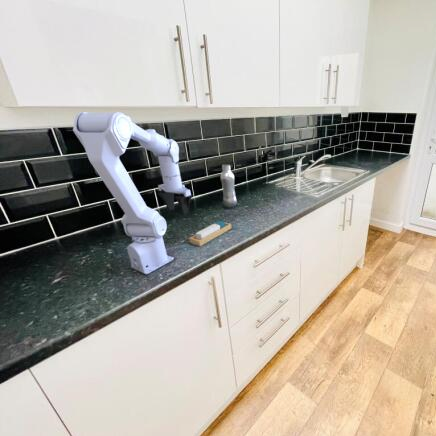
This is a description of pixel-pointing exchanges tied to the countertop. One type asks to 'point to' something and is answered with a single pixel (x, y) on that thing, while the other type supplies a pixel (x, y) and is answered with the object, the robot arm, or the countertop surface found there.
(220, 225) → the marker
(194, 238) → the pen tray
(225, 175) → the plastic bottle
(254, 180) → the countertop surface
